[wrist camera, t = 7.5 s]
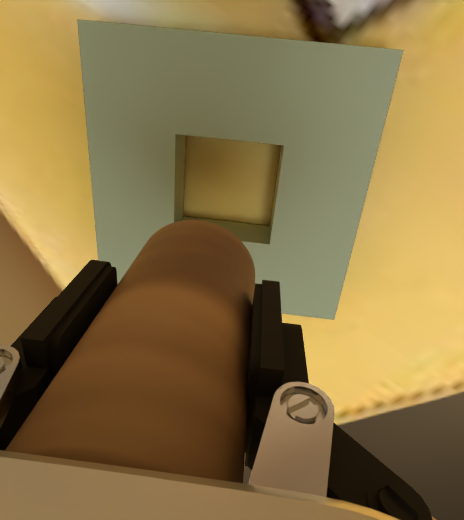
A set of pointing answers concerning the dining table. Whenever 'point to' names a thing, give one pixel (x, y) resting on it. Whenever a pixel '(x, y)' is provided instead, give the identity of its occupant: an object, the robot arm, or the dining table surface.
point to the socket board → (241, 129)
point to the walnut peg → (159, 364)
